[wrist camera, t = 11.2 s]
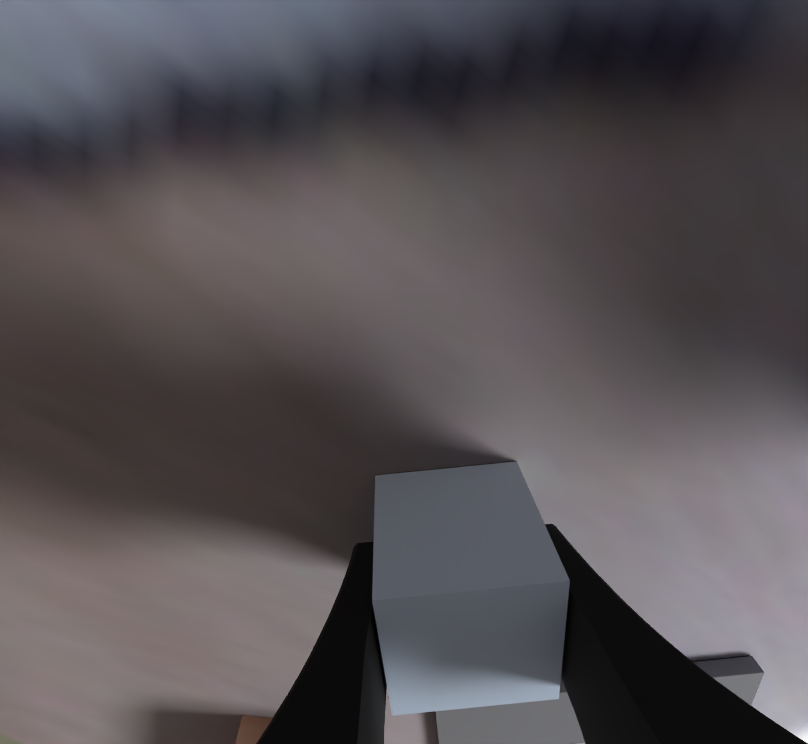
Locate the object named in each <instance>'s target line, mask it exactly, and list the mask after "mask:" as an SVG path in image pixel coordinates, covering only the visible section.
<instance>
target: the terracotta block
mask: <svg viewBox="0 0 808 744" xmlns="http://www.w3.org/2000/svg"><path fill="white" fill-rule="evenodd" d="M272 719H273V718H268V717H258V716H248V715H242V719H241V723H240V727H239V731H238V735H237V739H236V742H235V744H256V743H257V741H258V740H259V738H260V737H261V735H262V734H263V732H264V731H265V729H266V728H267V726H268V725H269V723H270V722H271V720H272Z"/></svg>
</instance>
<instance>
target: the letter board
mask: <svg viewBox="0 0 808 744" xmlns="http://www.w3.org/2000/svg"><path fill="white" fill-rule="evenodd" d="M693 663H695V664H696V665H697V666H698V667H700V668H701V669H702V670H703V671H705V672H706V673H707V674H709V675H710V676H711V677H712V678H714V679H715V680H717V681H718V682H719V683H721V684H722V685H723V686H725V687H726V688H728V689H729V690H730V691H732V692H733V693H734V694H736V695H737V696H738V697H740V698H741V699H743V700H744V701H745V702H747V703H748V704H749V705H751V704H752V702H753V699H754V697H755V694H756V692H757V689H758V687H759V684H760V682H761V679H762V677H763V674H764V671H763V670H762V669H761V667H760V666H759V665H758V663H757V662H756V661H755V659H754V658H753V657H752V656H748V657H738V658H728V659H718V660H708V661H698V662H693ZM436 721H437V730H438V740H439V744H585V741H584V738H583V735H582V731H581V729H580V726H579V723H578V720H577V717H576V714H575V712H574V709H573V706H572V704H571V701H570V699H569V696H568V694H567V691H566V689H565V686H564V683H563V681H562V678H561V682H560V692H559V699H554V700H544V701H534V702H524V703H514V704H504V705H494V706H484V707H474V708H464V709H454V710H444V711H436Z"/></svg>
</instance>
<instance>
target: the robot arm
mask: <svg viewBox="0 0 808 744" xmlns="http://www.w3.org/2000/svg"><path fill="white" fill-rule="evenodd" d="M545 526H546V528H547V531H548V533H549V535H550V537H551V540H552V542H553V544H554V546H555V549H556V551H557V553H558V555H559V558H560V560H561V562H562V564H563V567H564V569H565V571H566V573H567V576H568V578H569V580H570V585H569V595H568V606H567V617H566V628H565V639H564V649H563V660H562V671H561V678H562V681H563V683H564V686H565V689H566V691H567V694H568V696H569V699H570V701H571V704H572V706H573V709H574V712H575V714H576V717H577V720H578V723H579V726H580V729H581V731H582V735H583V738H584V741H585V744H808V743H806V742H804V741H803V740H801V739H800V738H798V737H796V736H795V735H793V734H792V733H790V732H789V731H787V730H786V729H784V728H783V727H781V726H780V725H778V724H777V723H775V722H774V721H772V720H771V719H769V718H768V717H766V716H765V715H763V714H762V713H760V712H759V711H758V710H756V709H755V708H754V707H752V706H751V705H749V704H748V703H747V702H745V701H744V700H743V699H741V698H740V697H738V696H737V695H736V694H734V693H733V692H732V691H730V690H729V689H728V688H726V687H725V686H723V685H722V684H721V683H719V682H718V681H717V680H715V679H714V678H712V677H711V676H710V675H709V674H707V673H706V672H705V671H703V670H702V669H701V668H700V667H698V666H697V665H696V664H695V663H693V662H692V661H691V660H690V659H688V658H687V657H686V656H685V655H683V654H682V653H681V652H680V651H679V650H678V649H676V648H675V647H674V646H673V645H672V644H670V643H669V642H668V641H667V640H666V639H665V638H663V637H662V636H661V635H660V634H659V633H658V632H657V631H655V630H654V629H653V628H652V627H651V626H650V625H649V624H648V623H647V622H645V621H644V620H643V619H642V618H641V617H640V616H639V615H638V614H637V613H636V612H635V611H634V610H633V609H632V608H631V607H630V606H628V605H627V604H626V603H625V602H624V601H623V600H622V599H621V598H620V597H619V596H618V595H617V594H616V593H615V592H614V591H613V590H612V588H611V587H610V586H609V585H608V584H607V583H606V582H605V581H604V580H603V579H602V578H601V577H600V576H599V575H598V574H597V573H596V572H595V571H594V570H593V569H592V568H591V566H590V565H589V564H588V563H587V562H586V561H585V560H584V559H583V558H582V557H581V555H580V554H579V553H578V552H577V551H576V550H575V549H574V547H573V546H572V545H571V544H570V543H569V542H568V540H567V539H566V538H565V537H564V536H563V535H562V533H561V532H560V531H559V530H558V529H557V527H556V526H554V525H553V524H545ZM373 546H374V542H365V543H357V544H356V545H355V546H354V549H353V552H352V556H351V560H350V563H349V566H348V569H347V572H346V575H345V577H344V580H343V583H342V585H341V588H340V591H339V593H338V595H337V598H336V600H335V603H334V605H333V607H332V610H331V612H330V614H329V617H328V619H327V621H326V623H325V625H324V627H323V629H322V631H321V633H320V635H319V638H318V640H317V642H316V644H315V646H314V648H313V650H312V652H311V654H310V656H309V657H308V659H307V661H306V663H305V665H304V667H303V669H302V670H301V672H300V674H299V676H298V678H297V679H296V681H295V683H294V684H293V686H292V688H291V690H290V691H289V693H288V695H287V696H286V698H285V700H284V701H283V703H282V704H281V706H280V707H279V709H278V711H277V712H276V714H275V715H274V717H273V719H272V720H271V722H270V723H269V725H268V726H267V728H266V729H265V731H264V732H263V734H262V735H261V737H260V738H259V740H258V741H257V743H256V744H384V722H385V705H386V687H387V683H386V677H385V671H384V666H383V660H382V654H381V648H380V643H379V637H378V631H377V625H376V620H375V614H374V608H373V603H372V587H373Z"/></svg>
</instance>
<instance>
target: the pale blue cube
mask: <svg viewBox="0 0 808 744" xmlns="http://www.w3.org/2000/svg"><path fill="white" fill-rule="evenodd" d="M569 585H570V580H569V578H568V576H567V573H566V571H565V569H564V567H563V564H562V562H561V560H560V558H559V555H558V553H557V551H556V549H555V546H554V544H553V542H552V540H551V537H550V535H549V533H548V531H547V528H546V526H545V524H544V522H543V519H542V517H541V515H540V513H539V510H538V508H537V506H536V504H535V501H534V499H533V497H532V495H531V492H530V490H529V488H528V486H527V483H526V481H525V479H524V477H523V474H522V472H521V470H520V468H519V465H518V463H517V461H516V462H506V463H496V464H486V465H476V466H466V467H456V468H446V469H436V470H426V471H416V472H406V473H396V474H386V475H376V476H375V505H374V546H373V587H372V603H373V608H374V614H375V620H376V625H377V631H378V637H379V643H380V648H381V654H382V660H383V666H384V671H385V677H386V683H387V688H388V694H389V700H390V706H391V711H392V716H394V715H404V714H414V713H424V712H434V711H444V710H454V709H464V708H474V707H484V706H494V705H504V704H514V703H524V702H534V701H544V700H554V699H559V692H560V682H561V671H562V660H563V649H564V639H565V628H566V617H567V606H568V595H569Z"/></svg>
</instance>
